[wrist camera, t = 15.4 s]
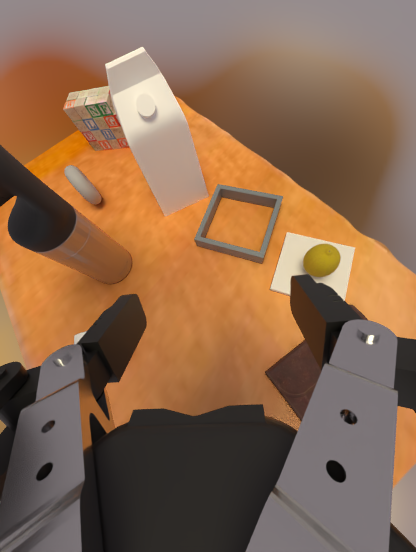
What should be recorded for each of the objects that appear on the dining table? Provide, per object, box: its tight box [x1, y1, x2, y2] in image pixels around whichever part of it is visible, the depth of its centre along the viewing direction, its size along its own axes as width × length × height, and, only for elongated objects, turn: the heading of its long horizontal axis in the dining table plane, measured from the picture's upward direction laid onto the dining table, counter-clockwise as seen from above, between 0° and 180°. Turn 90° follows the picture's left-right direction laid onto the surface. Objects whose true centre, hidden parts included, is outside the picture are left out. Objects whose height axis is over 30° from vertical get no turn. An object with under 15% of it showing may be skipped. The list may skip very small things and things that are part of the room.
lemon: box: [303, 244, 341, 277], centre depth 36 cm, size 6×6×8 cm
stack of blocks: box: [64, 86, 129, 151], centre depth 56 cm, size 21×6×12 cm, turn 86°
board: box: [270, 232, 355, 301], centre depth 40 cm, size 13×13×1 cm
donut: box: [65, 165, 101, 204], centre depth 52 cm, size 10×3×10 cm, turn 38°
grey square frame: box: [194, 184, 283, 264], centre depth 45 cm, size 15×15×3 cm
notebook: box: [265, 305, 367, 421], centre depth 34 cm, size 15×20×2 cm
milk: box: [105, 47, 209, 217], centre depth 40 cm, size 12×12×26 cm
